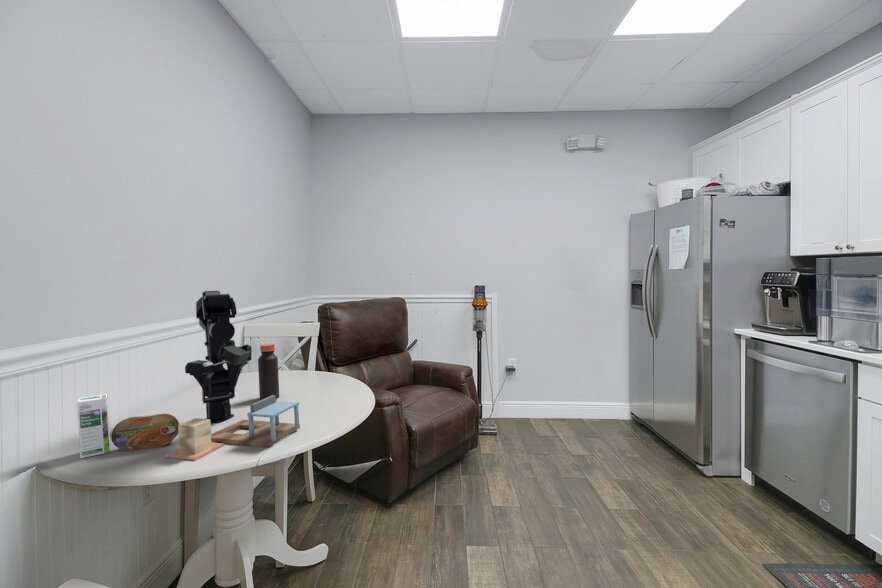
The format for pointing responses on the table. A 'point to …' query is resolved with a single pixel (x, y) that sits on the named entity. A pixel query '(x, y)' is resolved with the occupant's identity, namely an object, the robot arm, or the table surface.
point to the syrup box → (93, 425)
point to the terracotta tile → (194, 456)
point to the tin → (145, 432)
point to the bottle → (268, 372)
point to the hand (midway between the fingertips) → (221, 390)
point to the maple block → (194, 435)
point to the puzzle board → (260, 433)
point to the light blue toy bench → (271, 413)
